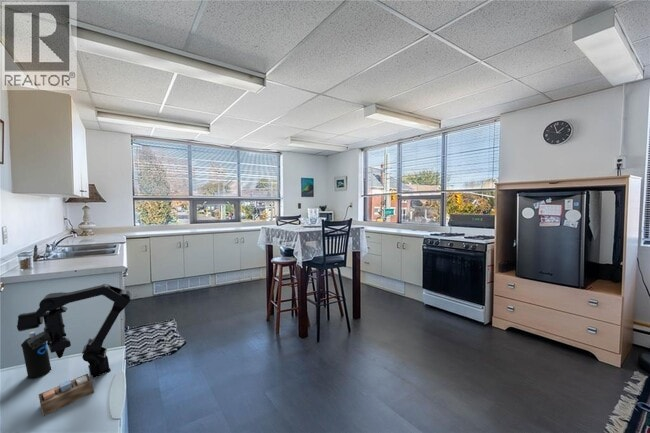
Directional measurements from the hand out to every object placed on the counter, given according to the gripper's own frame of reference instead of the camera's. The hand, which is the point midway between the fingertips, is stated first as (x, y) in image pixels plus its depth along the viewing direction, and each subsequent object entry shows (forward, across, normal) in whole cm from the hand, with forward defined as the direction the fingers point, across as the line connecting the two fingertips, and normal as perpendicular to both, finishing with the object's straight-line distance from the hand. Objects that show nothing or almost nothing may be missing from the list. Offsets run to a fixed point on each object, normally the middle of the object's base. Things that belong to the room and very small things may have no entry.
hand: (60, 357), depth 126 cm
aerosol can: (+12, -18, -6) cm, 23 cm away
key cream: (+10, +14, +4) cm, 18 cm away
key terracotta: (+10, +14, -6) cm, 18 cm away
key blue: (+9, +14, -1) cm, 17 cm away
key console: (+12, +14, -1) cm, 18 cm away
